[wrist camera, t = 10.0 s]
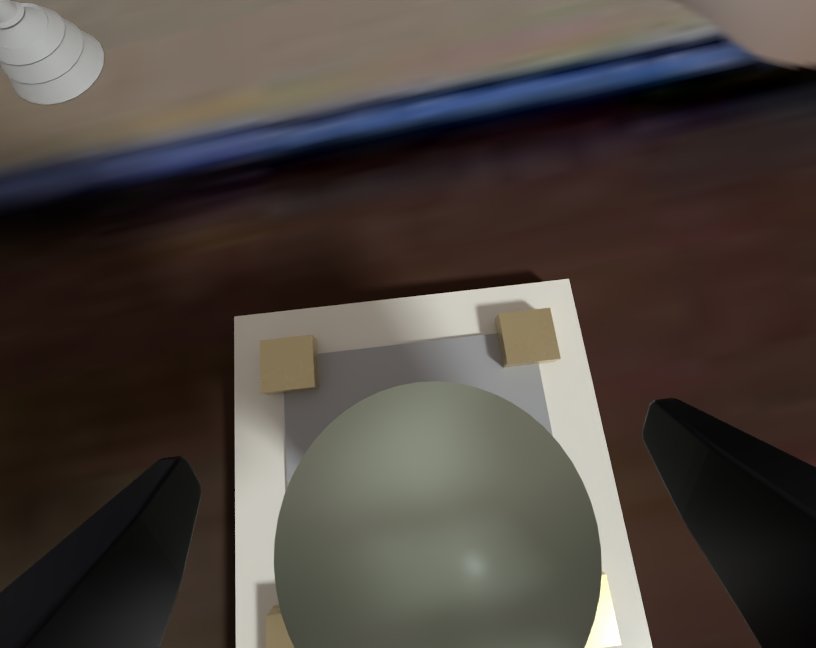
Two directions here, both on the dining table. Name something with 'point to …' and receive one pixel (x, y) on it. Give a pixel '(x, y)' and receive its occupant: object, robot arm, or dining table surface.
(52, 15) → the chalice
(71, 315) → the dining table surface
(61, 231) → the dining table surface
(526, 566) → the sage green capsule
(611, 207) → the dining table surface
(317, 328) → the display tile
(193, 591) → the dining table surface
